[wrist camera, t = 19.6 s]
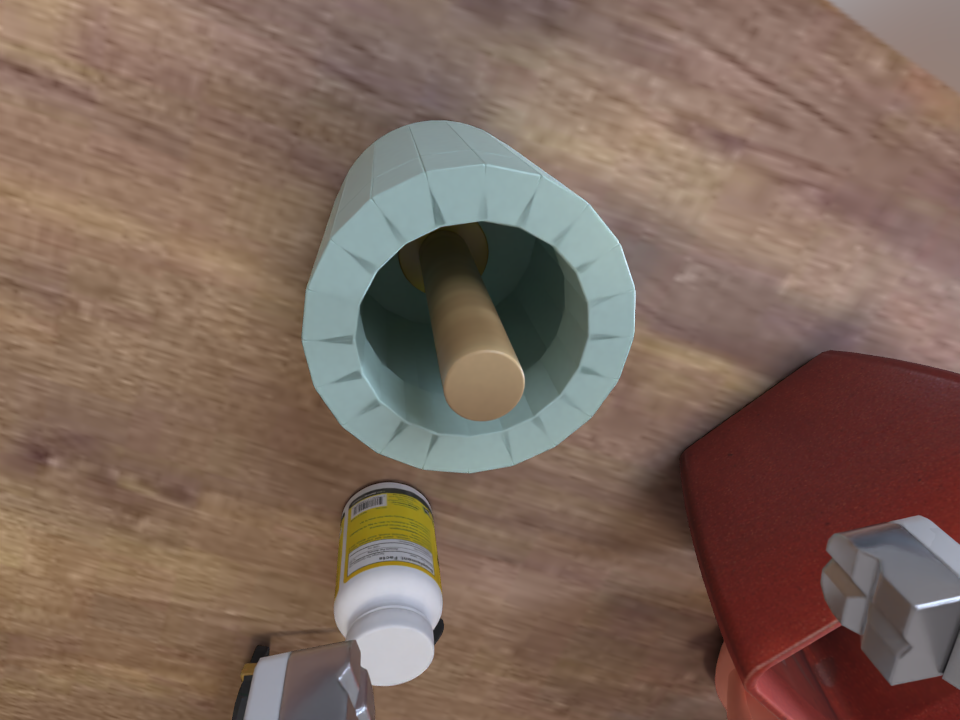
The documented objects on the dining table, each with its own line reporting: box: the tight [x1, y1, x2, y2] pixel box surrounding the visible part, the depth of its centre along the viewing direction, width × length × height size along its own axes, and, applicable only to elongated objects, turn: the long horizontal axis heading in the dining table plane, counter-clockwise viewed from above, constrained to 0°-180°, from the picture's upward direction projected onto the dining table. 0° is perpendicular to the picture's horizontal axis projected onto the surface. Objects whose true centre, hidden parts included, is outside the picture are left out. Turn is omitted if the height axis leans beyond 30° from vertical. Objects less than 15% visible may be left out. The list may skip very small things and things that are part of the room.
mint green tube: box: [301, 120, 635, 473], centre depth 26 cm, size 11×11×14 cm
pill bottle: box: [334, 482, 443, 686], centre depth 36 cm, size 6×6×11 cm
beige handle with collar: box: [398, 222, 525, 421], centre depth 24 cm, size 4×4×16 cm
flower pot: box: [680, 350, 960, 720], centre depth 36 cm, size 19×19×17 cm
